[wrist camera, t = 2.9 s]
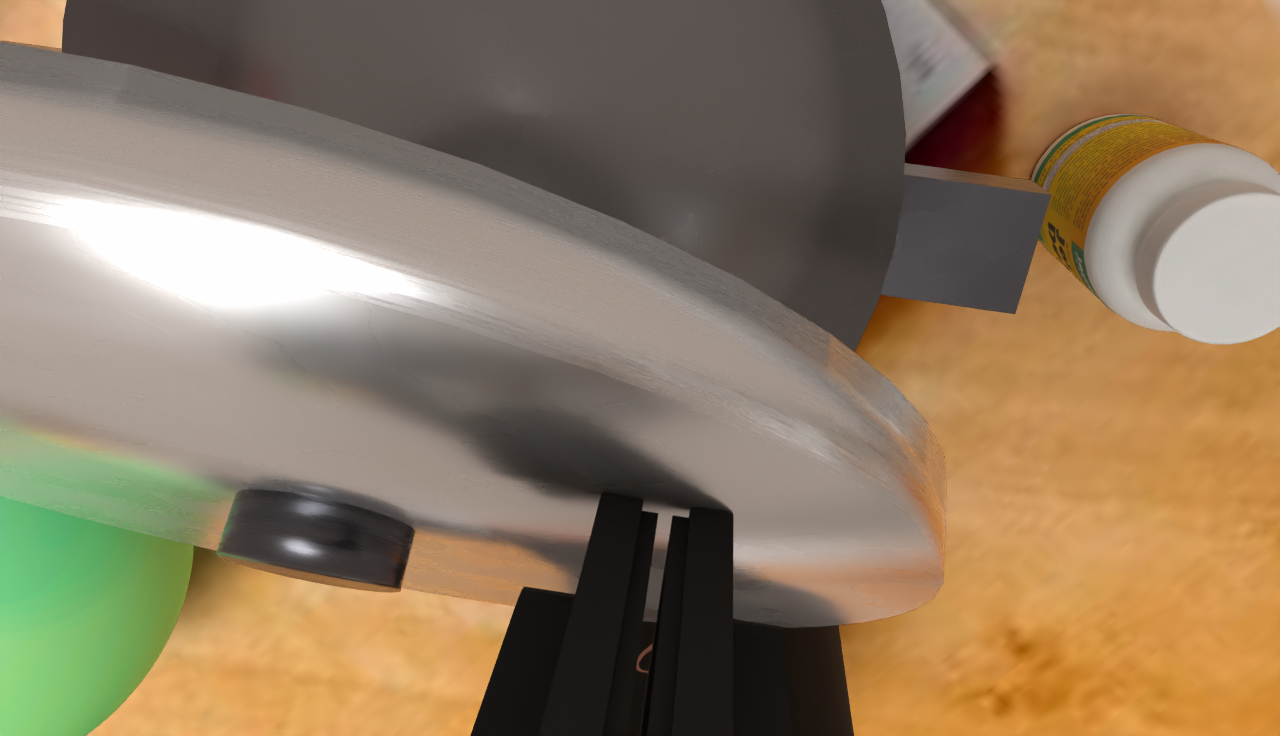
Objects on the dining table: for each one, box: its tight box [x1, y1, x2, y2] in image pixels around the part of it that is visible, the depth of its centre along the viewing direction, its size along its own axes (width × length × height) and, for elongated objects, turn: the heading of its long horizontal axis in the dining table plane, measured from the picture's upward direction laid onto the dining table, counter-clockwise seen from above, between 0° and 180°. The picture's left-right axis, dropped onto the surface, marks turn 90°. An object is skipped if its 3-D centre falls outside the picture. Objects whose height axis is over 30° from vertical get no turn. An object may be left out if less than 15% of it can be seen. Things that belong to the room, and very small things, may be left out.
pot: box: [0, 0, 1051, 352], centre depth 27 cm, size 27×20×12 cm
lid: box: [0, 42, 947, 628], centre depth 16 cm, size 20×20×2 cm
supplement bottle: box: [1031, 114, 1280, 344], centre depth 27 cm, size 5×5×10 cm
